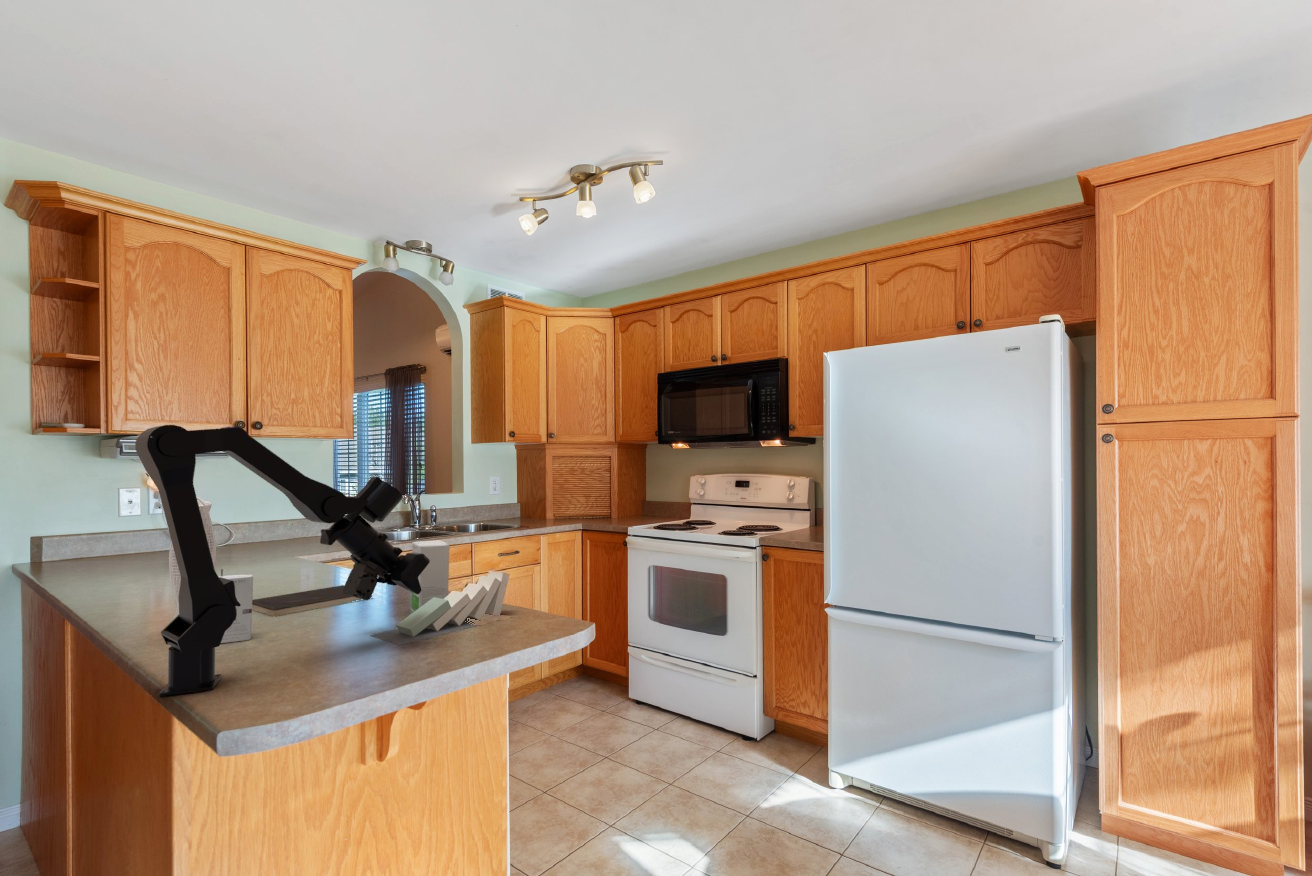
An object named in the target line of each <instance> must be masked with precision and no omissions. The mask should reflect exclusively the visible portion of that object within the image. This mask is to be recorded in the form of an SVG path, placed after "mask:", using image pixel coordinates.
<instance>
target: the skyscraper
mask: <svg viewBox="0 0 1312 876" xmlns="http://www.w3.org/2000/svg"><path fill="white" fill-rule="evenodd" d="M196 497H197V501H198V505H199V509H200V513H201V517H202V521H203V525H204V529H205V533H206V537H207V541H208V545H209V549H210V553H211V557H212V561H213V565H214V569H216V558H217V549H216V547H217V545H216V536H215V532H214V528H213V522H212V518H211V515H210V510H211V508H212V502H210V501H208V500H207V501H206V500H203V499H202V498H201V497H199V496H197V495H196ZM168 553H169V554H168V566H169V567H168V568H169V569H168V570H169V580H170V586H171V592H172V596H173V601H174V604H175V608H176V610H175V613H174V616H173V620H174V619H175V618H176V617H177V616H178V615H179V590H180V583H181V575H180V572H179V568H178V564H177V560H176V556H175V552H174V548H173V544H172V541H171V540H170V544H169V552H168ZM220 576H224V568H220Z"/></svg>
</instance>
